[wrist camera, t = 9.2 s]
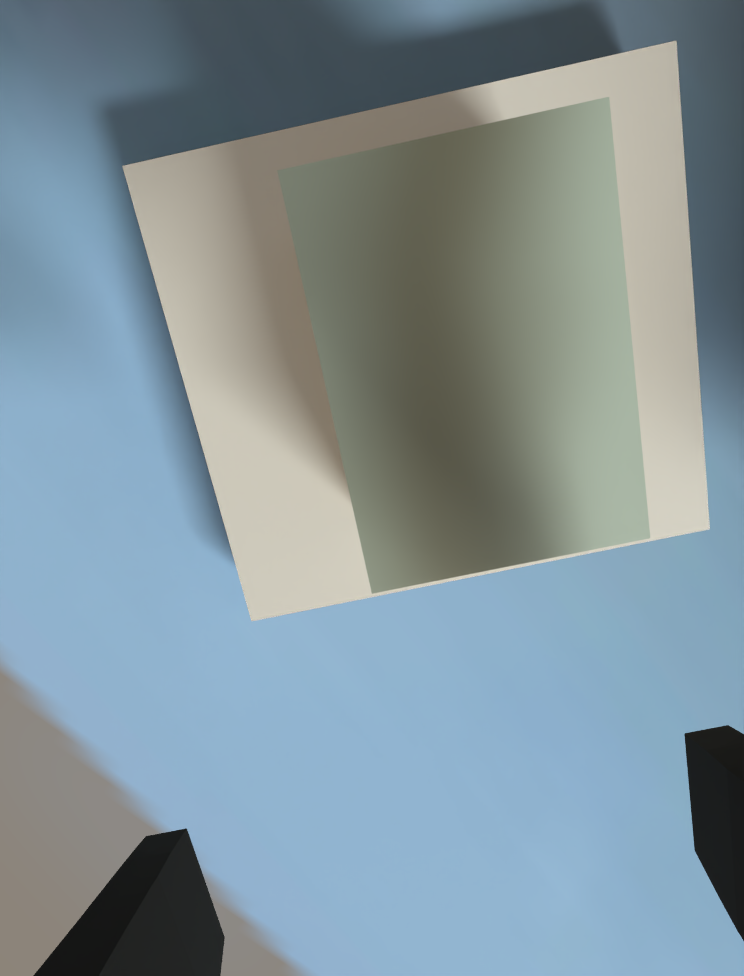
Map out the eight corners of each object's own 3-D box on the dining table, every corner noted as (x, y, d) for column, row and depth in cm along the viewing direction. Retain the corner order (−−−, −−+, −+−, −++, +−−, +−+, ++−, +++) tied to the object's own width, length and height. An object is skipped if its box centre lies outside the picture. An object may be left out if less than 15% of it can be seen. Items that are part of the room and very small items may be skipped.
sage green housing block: (526, 173, 13) (609, 96, 9) (565, 477, 15) (650, 538, 11) (303, 222, 13) (276, 170, 9) (368, 517, 15) (372, 593, 11)
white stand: (634, 78, 15) (676, 40, 13) (670, 507, 17) (709, 528, 15) (152, 187, 15) (122, 166, 13) (263, 589, 18) (251, 621, 16)
